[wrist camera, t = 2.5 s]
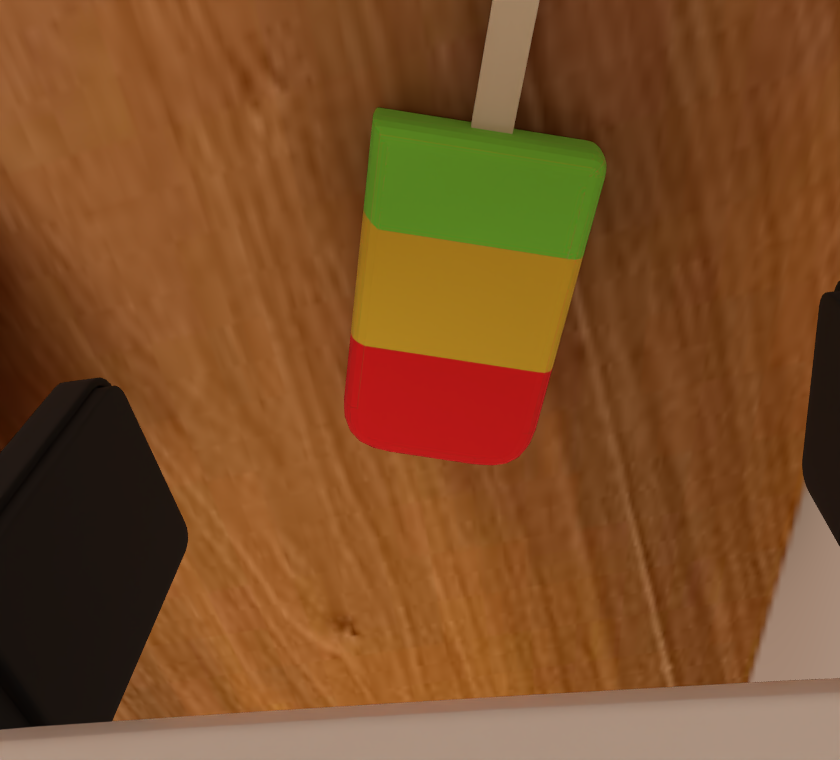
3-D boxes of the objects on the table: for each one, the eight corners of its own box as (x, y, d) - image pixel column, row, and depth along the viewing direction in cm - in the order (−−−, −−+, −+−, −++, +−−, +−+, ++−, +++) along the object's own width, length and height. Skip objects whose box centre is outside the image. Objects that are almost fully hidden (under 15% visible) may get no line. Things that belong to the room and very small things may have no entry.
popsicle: (345, 413, 23) (336, 451, 22) (409, -191, 15) (401, -202, 14) (522, 439, 23) (526, 479, 22) (677, -146, 15) (701, -152, 14)
